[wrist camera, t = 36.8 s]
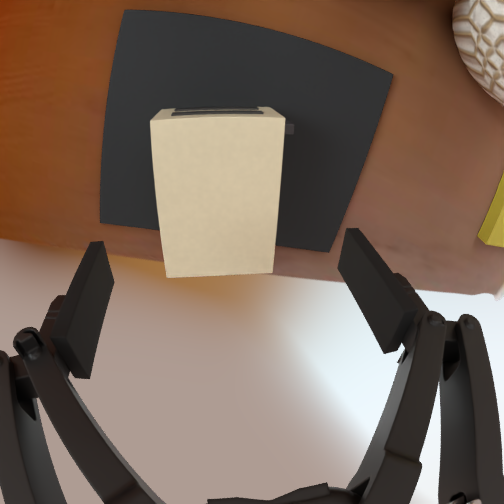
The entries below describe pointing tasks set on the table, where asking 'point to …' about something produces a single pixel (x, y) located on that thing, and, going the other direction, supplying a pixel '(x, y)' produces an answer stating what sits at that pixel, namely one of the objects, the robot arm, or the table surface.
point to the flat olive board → (494, 220)
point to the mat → (242, 95)
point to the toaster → (218, 188)
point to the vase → (482, 42)
